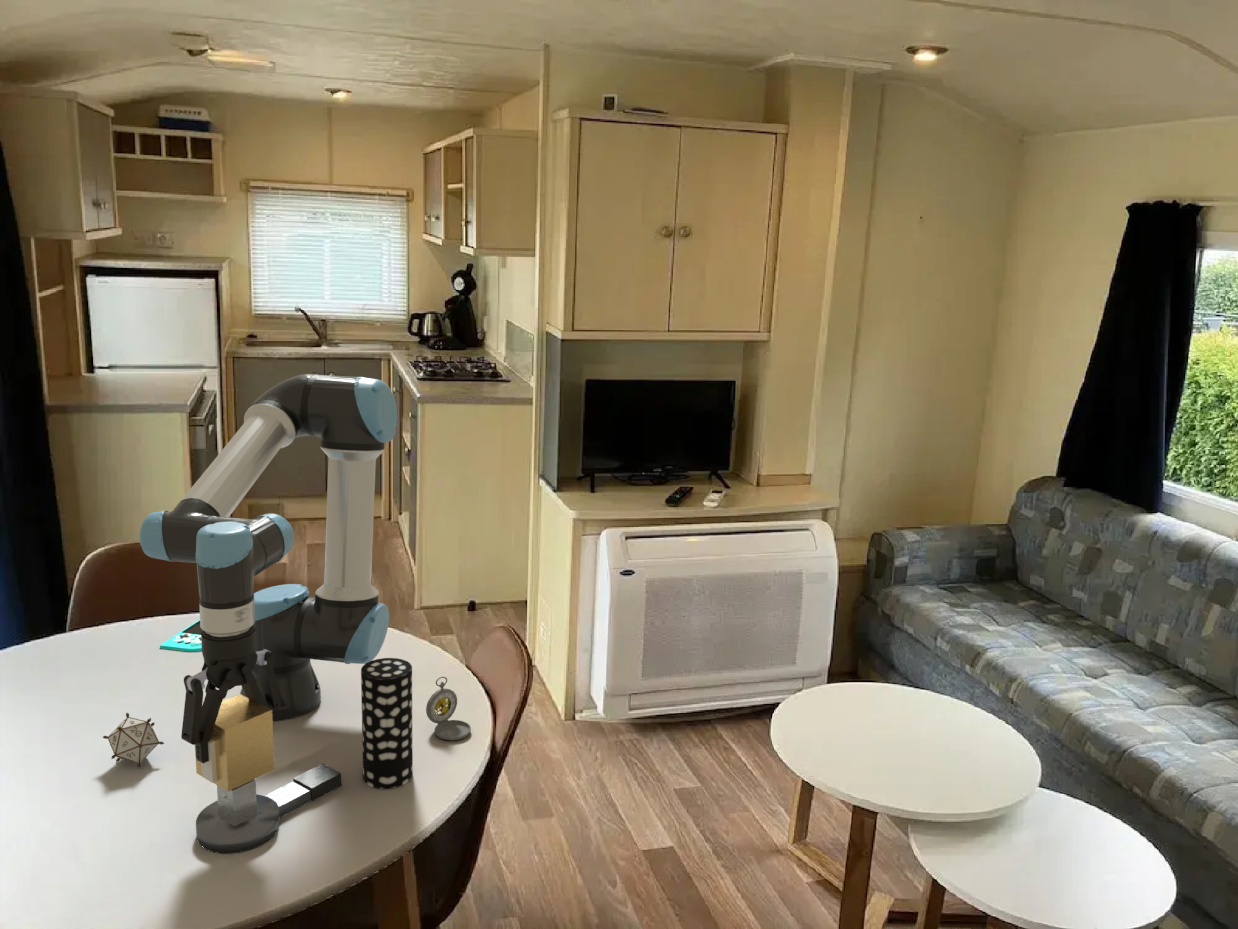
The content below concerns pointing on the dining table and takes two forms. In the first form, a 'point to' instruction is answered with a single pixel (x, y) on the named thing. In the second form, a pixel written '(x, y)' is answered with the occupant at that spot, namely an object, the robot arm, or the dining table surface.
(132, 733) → the game die
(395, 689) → the white-spotted black cylinder
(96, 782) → the dining table surface
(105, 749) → the dining table surface
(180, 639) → the handheld game console
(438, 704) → the pocket watch
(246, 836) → the grey handled disc
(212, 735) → the golden tan block
